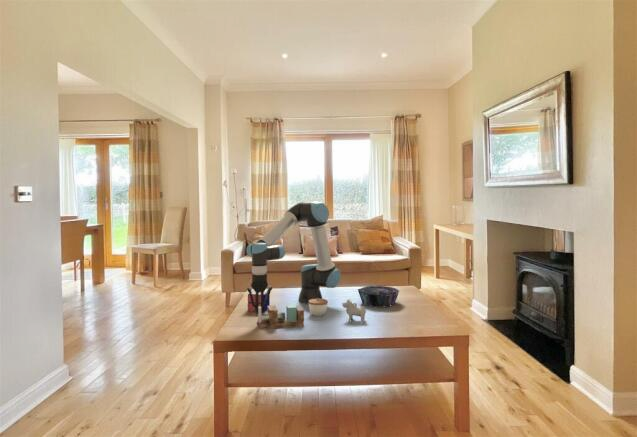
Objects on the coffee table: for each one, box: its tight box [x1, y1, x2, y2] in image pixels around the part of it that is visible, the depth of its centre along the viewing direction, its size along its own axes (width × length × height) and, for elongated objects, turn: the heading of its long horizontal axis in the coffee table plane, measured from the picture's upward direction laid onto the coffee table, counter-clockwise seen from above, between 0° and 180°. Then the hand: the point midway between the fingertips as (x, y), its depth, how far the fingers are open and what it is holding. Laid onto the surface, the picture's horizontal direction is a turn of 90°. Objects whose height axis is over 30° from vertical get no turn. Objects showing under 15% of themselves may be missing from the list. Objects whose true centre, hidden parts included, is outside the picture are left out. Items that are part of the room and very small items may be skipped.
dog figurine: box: [341, 299, 367, 323], centre depth 207 cm, size 5×13×11 cm, turn 71°
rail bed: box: [257, 304, 305, 330], centre depth 201 cm, size 22×12×8 cm, turn 104°
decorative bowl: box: [357, 285, 400, 307], centre depth 245 cm, size 26×28×10 cm
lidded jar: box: [308, 298, 329, 317], centre depth 218 cm, size 11×11×9 cm
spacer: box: [285, 304, 297, 322], centre depth 202 cm, size 4×5×7 cm
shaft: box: [261, 311, 286, 322], centre depth 200 cm, size 12×4×4 cm, turn 104°
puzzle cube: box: [247, 290, 271, 312], centre depth 229 cm, size 10×10×10 cm
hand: (259, 319), depth 198 cm, fingers closed
